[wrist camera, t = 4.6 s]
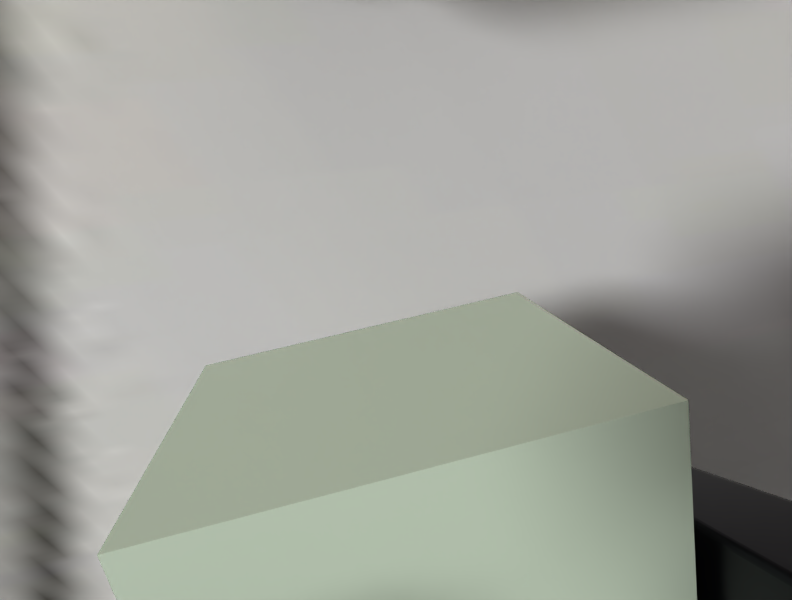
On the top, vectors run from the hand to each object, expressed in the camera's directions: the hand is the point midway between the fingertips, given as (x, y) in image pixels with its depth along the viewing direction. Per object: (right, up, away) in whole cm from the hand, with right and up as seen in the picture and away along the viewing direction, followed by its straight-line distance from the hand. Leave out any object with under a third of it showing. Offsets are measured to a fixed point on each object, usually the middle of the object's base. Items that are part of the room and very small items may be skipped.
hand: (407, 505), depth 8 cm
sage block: (0, 0, +1) cm, 1 cm away
